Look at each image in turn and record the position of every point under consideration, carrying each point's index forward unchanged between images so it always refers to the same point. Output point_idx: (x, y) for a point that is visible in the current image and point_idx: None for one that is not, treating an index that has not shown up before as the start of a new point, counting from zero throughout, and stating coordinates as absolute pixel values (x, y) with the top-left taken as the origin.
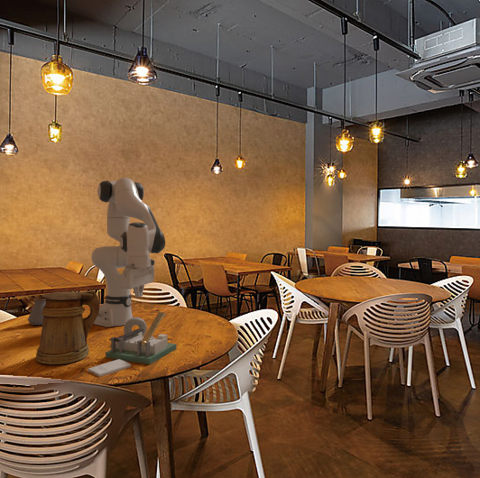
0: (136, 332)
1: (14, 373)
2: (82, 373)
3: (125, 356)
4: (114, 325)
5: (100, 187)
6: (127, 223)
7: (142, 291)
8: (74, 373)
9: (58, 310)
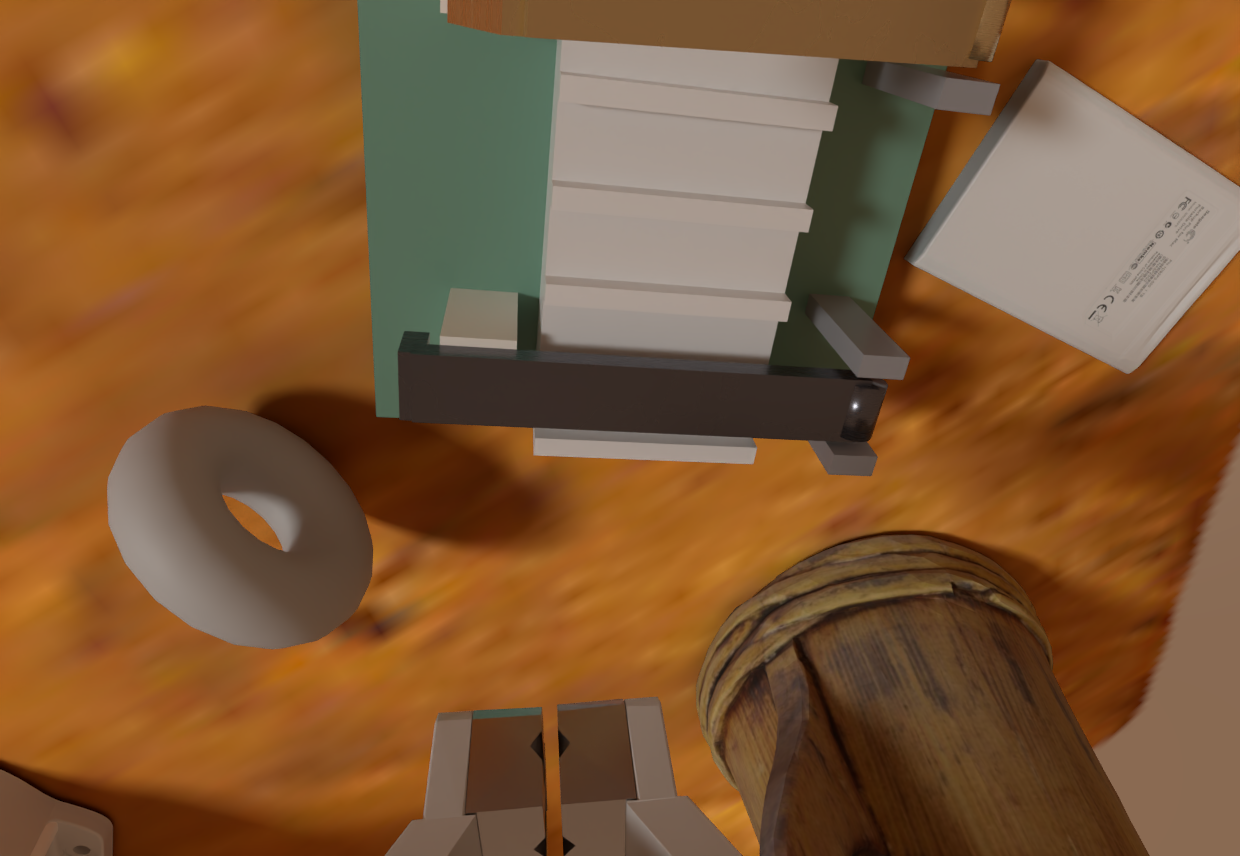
0: (556, 360)
1: (1131, 694)
2: (1168, 367)
3: (895, 219)
4: (49, 803)
5: None
6: None
7: (435, 828)
8: (1162, 416)
9: None
